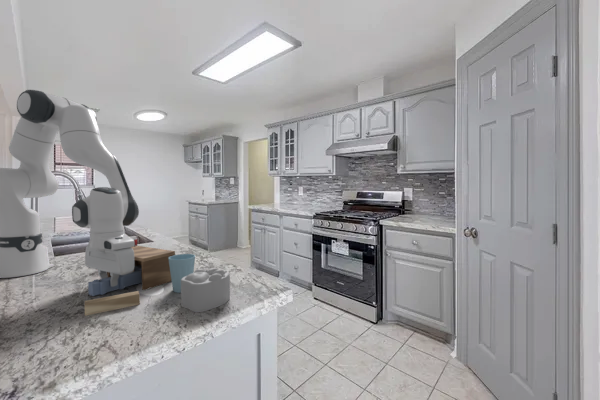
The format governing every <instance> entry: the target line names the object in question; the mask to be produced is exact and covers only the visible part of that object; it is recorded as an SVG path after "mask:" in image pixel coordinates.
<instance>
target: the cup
mask: <svg viewBox="0 0 600 400" xmlns="http://www.w3.org/2000/svg"><path fill="white" fill-rule="evenodd" d="M168 259H169V266H170V273H171V280H172V281H171V286H172V291H173V293H177V294H178V293H180V294H181V279H182V278H183V277H185V276H188V275H189V274H191V273H194V272H195V261H196V255H195V254H193V253H182V254H175V255H173V256H170V257H169V258H168Z"/></svg>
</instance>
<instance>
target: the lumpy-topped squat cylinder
mask: <svg viewBox="0 0 600 400" xmlns="http://www.w3.org/2000/svg"><path fill="white" fill-rule="evenodd" d="M230 274H231V273H230V272H229V271H228V270H224V269H222V268H217V267H211V268H209V269H204V268H197V269H195V270H194V273H191V274H189V275H188V276H185V277H183V278H182V279H181V293H180V307H183V308H185V309H188V310H189V311H191V312H193V313H194V312H195V313H201V312H202V313H203V312H206V311H209V310H213V309H215V308H217V307H220V306H222V305H224V304H227V302H228V301H229V300H230V299H231V287H230V285H231V284H230V283H231V280H230V279H231V277H230Z"/></svg>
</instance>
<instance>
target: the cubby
mask: <svg viewBox="0 0 600 400" xmlns="http://www.w3.org/2000/svg"><path fill="white" fill-rule="evenodd" d="M131 248H132V249H133V250H134V266H137V265H141V266H142V283H141V290H142V291H146V290H149V289H153V288H155V287H158V286H162V285H165V284H168V283H172V280H171V273H170V266H169V259H168V258H169V257H170V256H173V255H176V251H175V250H170V249H163V248H155V247H148V246H143V245H137V246H135V247H131ZM107 276H108V277H111V276H110V272H107Z"/></svg>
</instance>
